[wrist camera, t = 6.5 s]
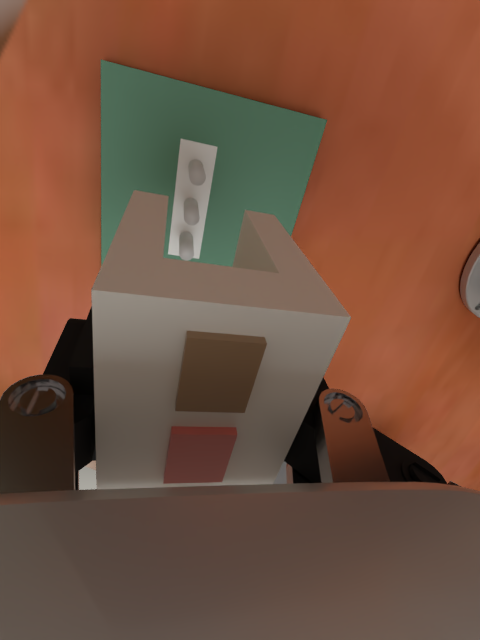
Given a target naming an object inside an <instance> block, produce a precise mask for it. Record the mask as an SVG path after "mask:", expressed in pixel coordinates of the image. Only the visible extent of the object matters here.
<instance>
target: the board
mask: <svg viewBox="0 0 480 640" xmlns="http://www.w3.org/2000/svg"><path fill="white" fill-rule="evenodd" d="M326 122H327V120H325V119H322V118H318V117H314V116H310V115H307V114H303V113H299V112H295V111H292V110H288V109H284V108H280V107H277V106H273V105H269V104H266V103H262V102H258V101H254V100H251V99H247V98H243V97H239V96H236V95H232V94H228V93H224V92H221V91H217V90H213V89H209V88H206V87H202V86H198V85H194V84H191V83H187V82H183V81H179V80H176V79H172V78H168V77H164V76H161V75H157V74H153V73H149V72H146V71H142V70H138V69H134V68H131V67H127V66H123V65H119V64H116V63H112V62H108V61H104V60H101V266H102V264H103V262H104V259H105V257H106V255H107V252H108V250H109V248H110V245H111V243H112V241H113V238H114V236H115V234H116V231H117V229H118V226H119V224H120V222H121V219H122V217H123V215H124V212H125V210H126V208H127V205H128V203H129V201H130V198H131V196H132V194H133V191H134V190H137V191H143V192H148V193H154V194H159V195H165V196H169V197H168V208H167V219H166V231H165V242H164V254H163V258H169V259H177V260H184V261H192V262H199V263H206V264H214V265H221V266H229V267H232V266H233V262H234V257H235V253H236V248H237V244H238V239H239V235H240V230H241V226H242V221H243V216H244V212H245V210H249V211H255V212H260V213H266V214H272V215H275V216H276V218H277V219H278V220H279V222H280V223H281V224H282V226H283V227H284V228H285V230H286V231H287V232H288V234H289V235H290V236H291V235H292V231H293V228H294V225H295V222H296V219H297V215H298V212H299V209H300V206H301V203H302V199H303V196H304V193H305V190H306V187H307V183H308V180H309V177H310V174H311V170H312V167H313V164H314V161H315V158H316V154H317V151H318V148H319V145H320V142H321V138H322V135H323V132H324V129H325V125H326Z"/></svg>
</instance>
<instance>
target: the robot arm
mask: <svg viewBox="0 0 480 640" xmlns="http://www.w3.org/2000/svg"><path fill="white" fill-rule="evenodd" d="M460 293H461V299H462V301H463V303H464V305H465V306H466V307H467V308H468V309H469V310H470V311H471V312H472V313H473V314H475V315H476V316H478V317H479V318H480V242H479V244H478V245H477V247H476V248H475V249H474V251H473V252H472V254H471V255H470V257H469V259H468V261H467V263H466V265H465V268H464V271H463V274H462V277H461V283H460ZM92 460H96V441H95V403H94V365H93V327H92V307H91V309H90V312H89V315H88V317H87V320H83V319H72V318H70V319H69V320H68V321H67V323H66V326H65V328H64V330H63V332H62V334H61V336H60V339H59V341H58V343H57V345H56V347H55V349H54V351H53V354H52V356H51V358H50V360H49V362H48V364H47V367H46V369H45V371H44V373H43V375H35V376H30V377H27V378H24V379H22V380H19V381H17V382H16V383H14V384H13V385H11V386H10V387H9V388H8V389H7V390H6V391H5V392H4V393H3V395H2V397H1V399H0V640H480V491H477V490H473V489H469V488H465V487H461V486H459V485H457V484H455V483H453V482H451V481H450V482H449V483H448V484H447V482H446V481H445V479H444V478H443V476H442V475H441V474H440V473H439V472H438V471H437V470H436V469H435V468H434V467H433V466H432V465H431V464H429V463H428V462H427V461H425V460H424V459H422V458H420V457H419V456H417V455H416V454H414V453H412V452H411V451H409V450H408V449H406V448H404V447H403V446H401V445H400V444H398V443H396V442H395V441H393V440H392V439H390V438H389V437H387V436H385V435H384V434H382V433H381V432H379V431H377V430H376V429H374V428H373V427H372V424H371V421H370V418H369V415H368V412H367V410H366V408H365V406H364V405H363V404H362V403H361V401H360V400H358V399H357V398H356V397H355V396H353V395H352V394H350V393H348V392H346V391H343V390H340V389H333V388H332V389H329V388H328V386H327V384H326V382H325V380H324V378H323V379H322V381H321V383H320V385H319V387H318V389H317V391H316V394H315V396H314V398H313V400H312V402H311V404H310V406H309V408H308V411H307V413H306V415H305V417H304V419H303V421H302V423H301V425H300V428H299V430H298V432H297V434H296V436H295V438H294V440H293V443H292V445H291V447H290V449H289V451H288V453H287V455H286V457H285V460H284V461H285V462H286V463H287V465H286V477H287V484H258V485H222V486H187V487H155V488H125V489H95V490H79V470H80V469H82V468H83V467H84V466H86V465H87V464H89V463H90V462H91V461H92Z"/></svg>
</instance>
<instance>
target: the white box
mask: <svg viewBox="0 0 480 640" xmlns="http://www.w3.org/2000/svg"><path fill="white" fill-rule="evenodd" d="M168 197H169V196H165V195H159V194H154V193H148V192H143V191H137V190H134V191H133V194H132V196H131V198H130V201H129V203H128V205H127V208H126V210H125V212H124V215H123V217H122V219H121V222H120V224H119V226H118V229H117V231H116V234H115V236H114V238H113V241H112V243H111V245H110V248H109V250H108V252H107V255H106V257H105V259H104V262H103V264H102V266H101V269H100V271H99V273H98V276H97V278H96V280H95V283H94V285H93V288H92V327H93V365H94V403H95V441H96V479H97V489H125V488H155V487H187V486H222V485H258V484H273V483H274V481H275V479H276V477H277V475H278V472H279V470H280V468H281V466H282V464H283V462H284V460H285V457H286V455H287V453H288V451H289V449H290V447H291V445H292V443H293V440H294V438H295V436H296V434H297V432H298V430H299V428H300V425H301V423H302V421H303V419H304V417H305V415H306V413H307V411H308V408H309V406H310V404H311V402H312V400H313V398H314V396H315V394H316V391H317V389H318V387H319V385H320V383H321V381H322V379H323V376H324V374H325V372H326V370H327V368H328V366H329V364H330V362H331V359H332V357H333V355H334V353H335V351H336V349H337V347H338V344H339V342H340V340H341V338H342V336H343V334H344V332H345V330H346V327H347V325H348V323H349V321H350V319H351V317H350V315H349V314H348V313H347V311H346V310H345V309H344V307H343V306H342V305H341V303H340V302H339V301H338V299H337V298H336V297H335V295H334V294H333V293H332V291H331V290H330V289H329V287H328V286H327V285H326V283H325V282H324V281H323V279H322V278H321V277H320V275H319V274H318V273H317V271H316V270H315V269H314V267H313V266H312V265H311V263H310V262H309V260H308V259H307V258H306V256H305V255H304V254H303V252H302V251H301V250H300V248H299V247H298V246H297V244H296V243H295V242H294V240H293V239H292V238H291V236H290V235H289V234H288V232H287V231H286V230H285V228H284V227H283V226H282V224H281V223H280V222H279V220H278V219H277V218H276V216H275V215H272V214H266V213H260V212H255V211H249V210H245V212H244V216H243V221H242V226H241V230H240V235H239V239H238V244H237V248H236V253H235V257H234V262H233V266H232V267H229V266H221V265H214V264H206V263H199V262H192V261H184V260H177V259H169V258H163V254H164V242H165V231H166V219H167V208H168Z"/></svg>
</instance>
